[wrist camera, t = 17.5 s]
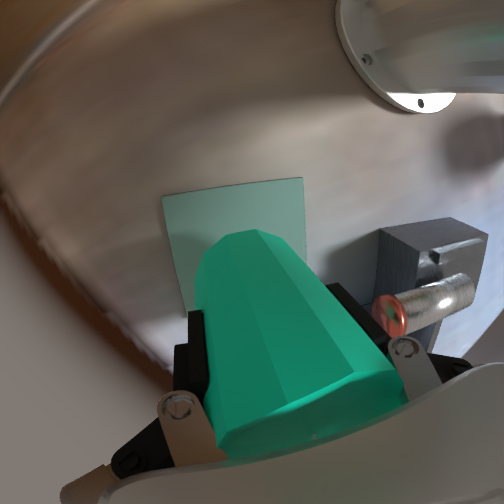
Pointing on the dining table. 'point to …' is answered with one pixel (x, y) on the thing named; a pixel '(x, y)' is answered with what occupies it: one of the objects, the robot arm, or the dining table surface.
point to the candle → (282, 350)
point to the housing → (427, 261)
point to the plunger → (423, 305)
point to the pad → (231, 221)
